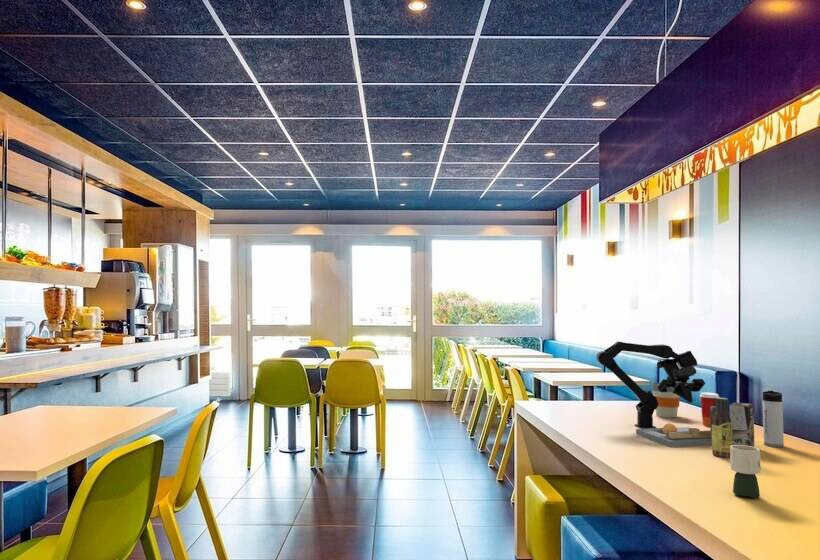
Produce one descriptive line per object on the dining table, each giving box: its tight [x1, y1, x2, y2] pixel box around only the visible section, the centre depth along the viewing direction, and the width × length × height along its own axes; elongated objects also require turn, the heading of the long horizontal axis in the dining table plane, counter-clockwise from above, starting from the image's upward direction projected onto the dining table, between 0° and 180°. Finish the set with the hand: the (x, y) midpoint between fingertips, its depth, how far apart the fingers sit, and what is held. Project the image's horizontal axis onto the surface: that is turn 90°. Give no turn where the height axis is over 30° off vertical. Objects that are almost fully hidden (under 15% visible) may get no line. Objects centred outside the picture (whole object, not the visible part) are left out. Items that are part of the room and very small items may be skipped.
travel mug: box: [762, 390, 785, 448], centre depth 208 cm, size 6×7×20 cm
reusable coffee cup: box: [651, 382, 681, 418], centre depth 264 cm, size 13×13×15 cm
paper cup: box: [699, 392, 720, 428], centre depth 243 cm, size 8×8×14 cm
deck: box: [635, 426, 712, 447], centre depth 217 cm, size 22×24×2 cm
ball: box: [662, 423, 677, 436], centre depth 212 cm, size 5×5×5 cm
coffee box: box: [729, 401, 756, 447], centre depth 203 cm, size 9×6×16 cm
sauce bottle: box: [711, 397, 732, 458], centre depth 193 cm, size 7×6×20 cm
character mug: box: [729, 445, 762, 499], centre depth 151 cm, size 11×7×13 cm, turn 167°
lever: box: [667, 406, 716, 439], centre depth 210 cm, size 4×21×11 cm, turn 100°
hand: (691, 402), depth 225 cm, fingers closed
